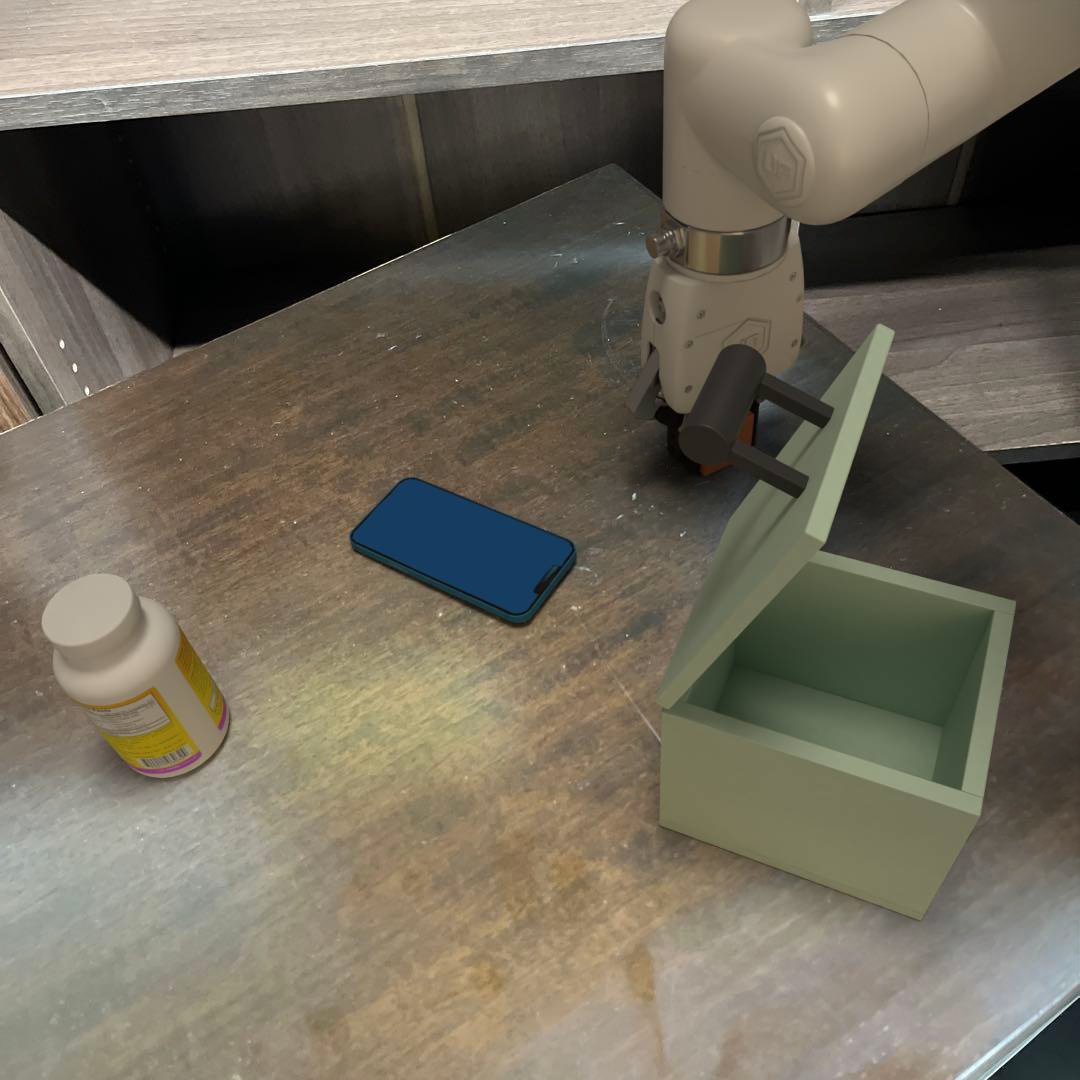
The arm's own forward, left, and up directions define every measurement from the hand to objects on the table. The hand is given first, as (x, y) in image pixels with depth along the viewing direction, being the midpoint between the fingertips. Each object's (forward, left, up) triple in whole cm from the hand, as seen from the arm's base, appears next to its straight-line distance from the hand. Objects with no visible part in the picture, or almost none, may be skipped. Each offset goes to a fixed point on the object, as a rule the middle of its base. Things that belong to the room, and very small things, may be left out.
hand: (711, 447), depth 72 cm
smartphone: (+13, +15, 0) cm, 20 cm away
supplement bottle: (+23, +34, 0) cm, 41 cm away
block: (0, 0, 0) cm, 0 cm away
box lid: (-9, +23, +19) cm, 31 cm away
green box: (-13, +23, 0) cm, 26 cm away
